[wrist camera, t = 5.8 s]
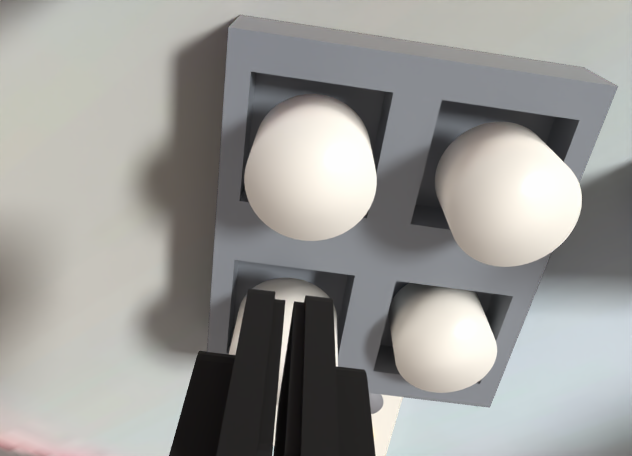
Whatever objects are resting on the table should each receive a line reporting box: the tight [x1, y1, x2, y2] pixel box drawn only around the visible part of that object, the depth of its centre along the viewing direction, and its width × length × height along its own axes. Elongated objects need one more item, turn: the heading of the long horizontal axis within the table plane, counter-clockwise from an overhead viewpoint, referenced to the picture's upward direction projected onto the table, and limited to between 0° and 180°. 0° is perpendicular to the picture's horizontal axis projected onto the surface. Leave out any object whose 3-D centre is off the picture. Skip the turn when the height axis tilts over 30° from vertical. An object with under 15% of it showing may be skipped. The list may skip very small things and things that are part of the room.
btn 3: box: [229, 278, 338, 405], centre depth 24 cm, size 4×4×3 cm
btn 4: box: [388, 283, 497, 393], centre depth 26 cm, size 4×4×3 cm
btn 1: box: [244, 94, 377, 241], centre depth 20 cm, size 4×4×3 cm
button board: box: [207, 15, 618, 407], centre depth 25 cm, size 14×16×3 cm
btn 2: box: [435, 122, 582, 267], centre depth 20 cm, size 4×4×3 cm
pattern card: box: [273, 393, 403, 456], centre depth 32 cm, size 7×6×1 cm
